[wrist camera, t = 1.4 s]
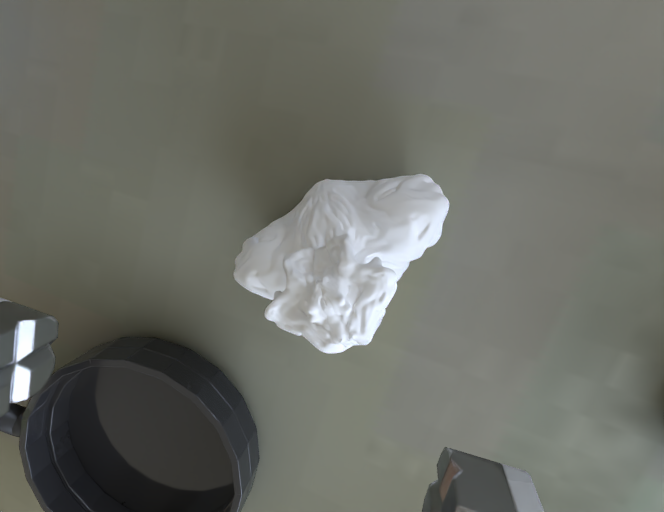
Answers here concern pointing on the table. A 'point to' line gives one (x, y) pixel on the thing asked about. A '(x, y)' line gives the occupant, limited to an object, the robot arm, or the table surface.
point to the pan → (139, 433)
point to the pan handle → (12, 420)
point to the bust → (341, 256)
